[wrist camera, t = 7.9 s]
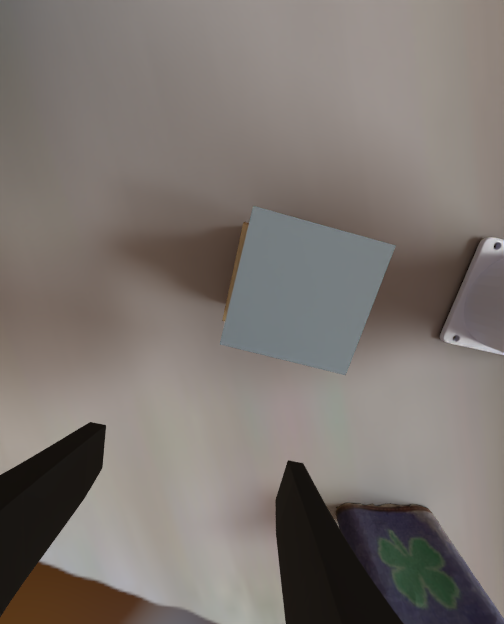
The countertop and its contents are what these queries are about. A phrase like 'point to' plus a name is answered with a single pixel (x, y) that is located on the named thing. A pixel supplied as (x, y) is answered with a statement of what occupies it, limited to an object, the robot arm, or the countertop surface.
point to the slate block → (303, 291)
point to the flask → (415, 565)
